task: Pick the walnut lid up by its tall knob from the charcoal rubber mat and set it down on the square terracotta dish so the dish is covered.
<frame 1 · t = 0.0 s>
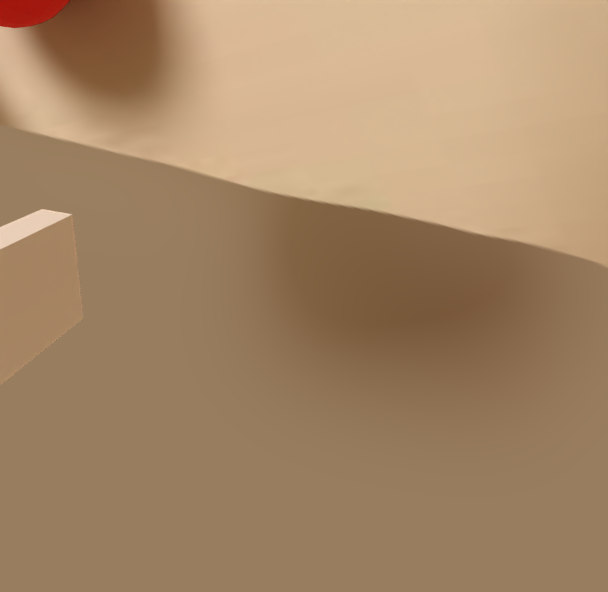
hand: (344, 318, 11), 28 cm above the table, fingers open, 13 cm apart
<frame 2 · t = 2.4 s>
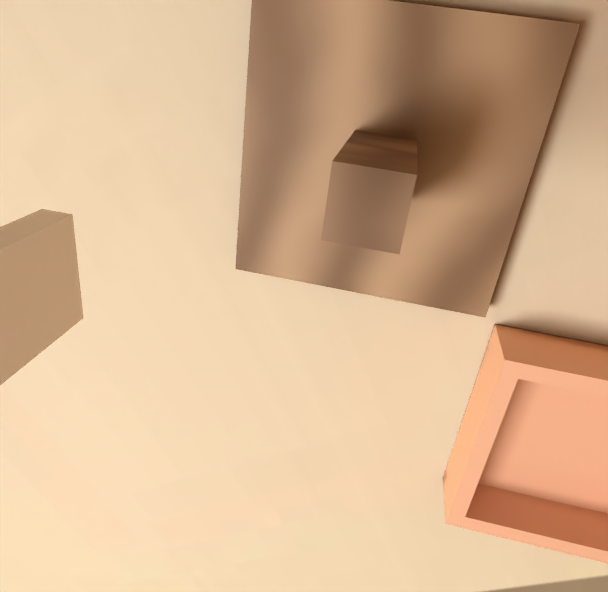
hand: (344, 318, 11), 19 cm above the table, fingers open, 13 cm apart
lid: (381, 162, 28), resting on mat
dish: (568, 429, 33), on the table
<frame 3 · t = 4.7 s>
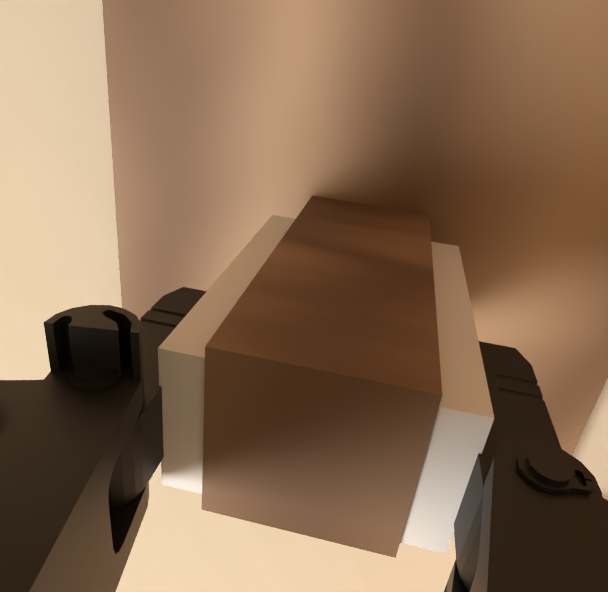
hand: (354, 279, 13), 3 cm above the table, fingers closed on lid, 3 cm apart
lid: (363, 247, 15), resting on mat, touching gripper
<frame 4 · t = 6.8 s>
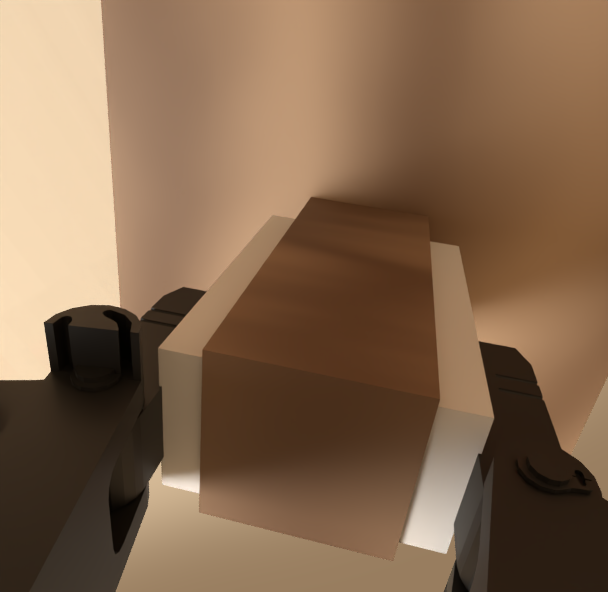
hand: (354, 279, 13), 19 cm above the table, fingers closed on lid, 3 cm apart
lid: (362, 248, 15), point 17 cm above the table, touching gripper
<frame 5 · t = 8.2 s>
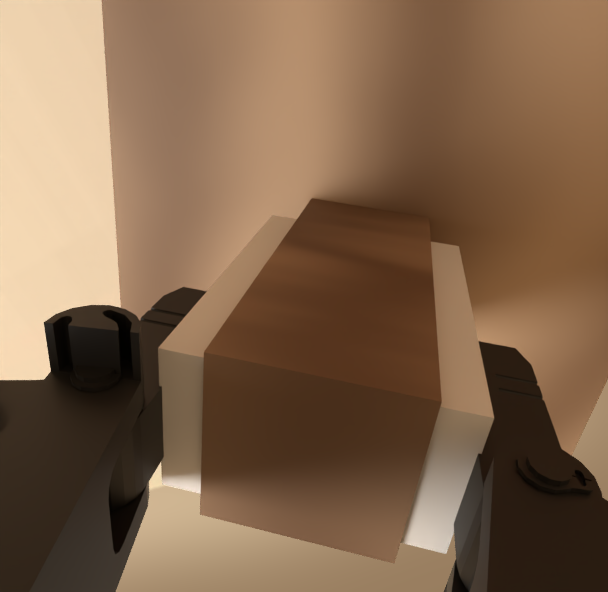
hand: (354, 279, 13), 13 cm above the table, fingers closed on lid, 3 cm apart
lid: (363, 249, 15), point 10 cm above the table, touching gripper
when the fingers open (8 cm above the table, at t = 9.2 s): lid drops 1 cm, resting on dish.
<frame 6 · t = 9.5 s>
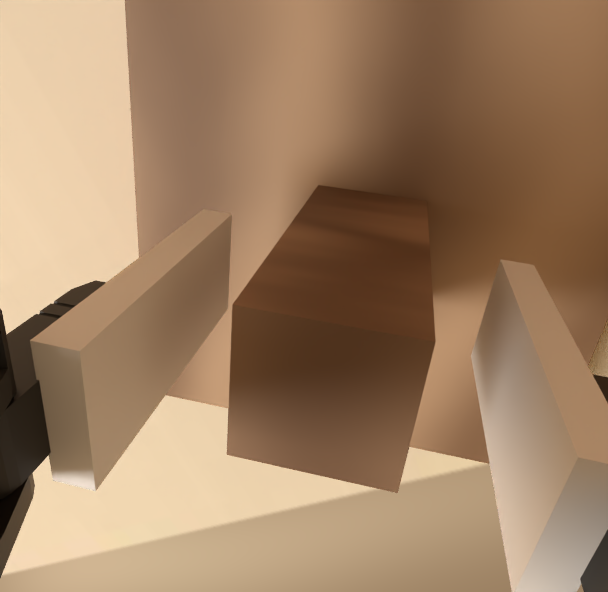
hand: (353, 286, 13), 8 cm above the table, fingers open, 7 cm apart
lid: (366, 233, 17), point 4 cm above the table, touching dish
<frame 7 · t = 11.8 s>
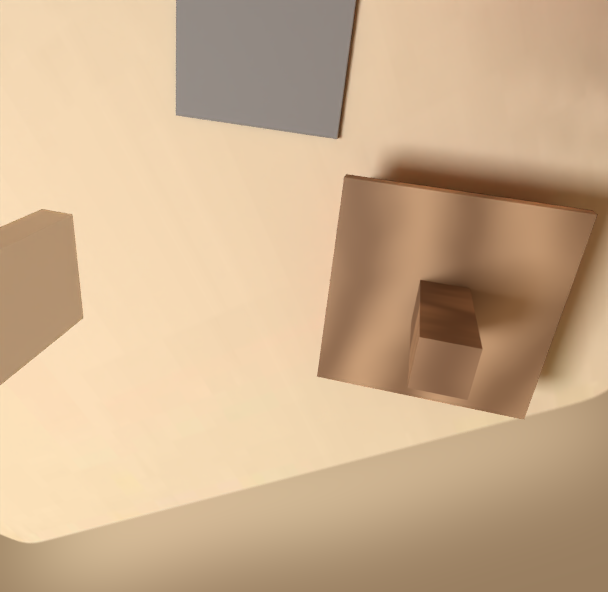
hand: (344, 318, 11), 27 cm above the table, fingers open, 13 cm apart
mat: (262, 33, 34), on the table
lid: (439, 299, 35), point 4 cm above the table, touching dish
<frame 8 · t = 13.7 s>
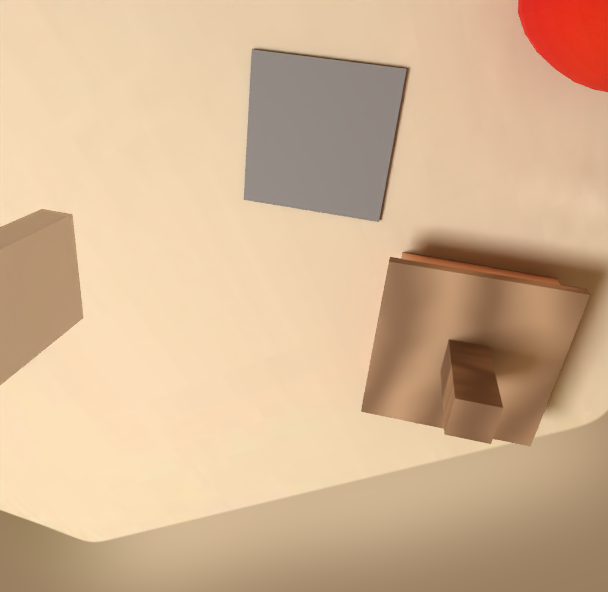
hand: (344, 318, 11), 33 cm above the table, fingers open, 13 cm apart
mat: (319, 138, 42), on the table
lid: (463, 352, 43), point 4 cm above the table, touching dish
dish: (459, 329, 47), on the table
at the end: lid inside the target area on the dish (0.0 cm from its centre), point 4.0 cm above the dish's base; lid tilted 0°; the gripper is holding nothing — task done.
